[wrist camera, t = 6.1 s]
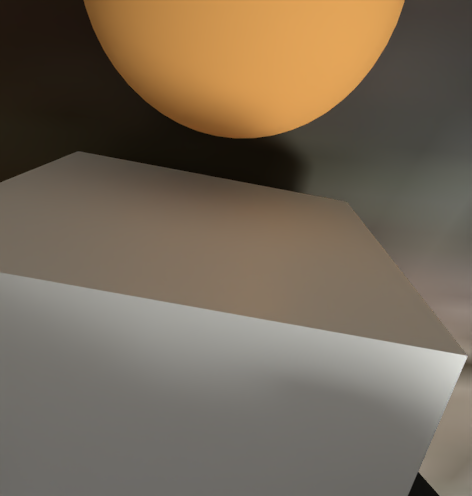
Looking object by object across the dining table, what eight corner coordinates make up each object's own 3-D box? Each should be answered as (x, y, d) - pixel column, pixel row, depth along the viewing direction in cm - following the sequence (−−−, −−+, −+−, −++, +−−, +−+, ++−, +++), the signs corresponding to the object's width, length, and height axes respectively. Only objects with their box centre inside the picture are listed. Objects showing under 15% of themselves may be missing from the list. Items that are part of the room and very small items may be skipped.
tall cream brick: (267, 486, 13) (279, 795, 7) (60, 451, 13) (-90, 742, 7) (346, 201, 10) (466, 355, 4) (78, 151, 10) (-156, 245, 4)
